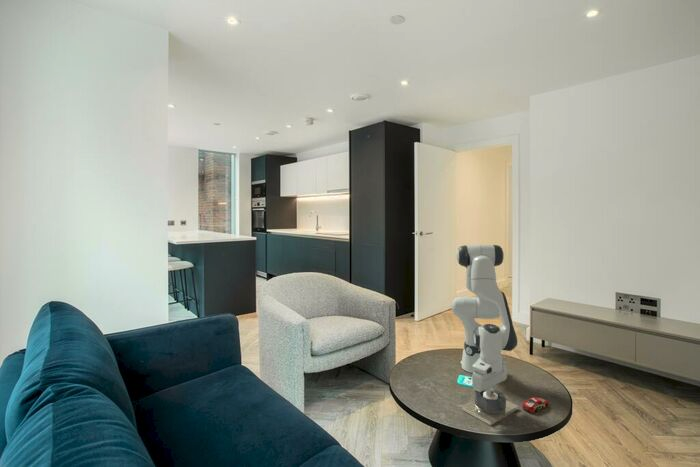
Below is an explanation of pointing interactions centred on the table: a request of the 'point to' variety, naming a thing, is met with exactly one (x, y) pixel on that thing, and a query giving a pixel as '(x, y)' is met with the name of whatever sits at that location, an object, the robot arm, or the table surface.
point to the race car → (535, 404)
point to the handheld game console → (465, 380)
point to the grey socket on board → (489, 407)
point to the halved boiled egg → (492, 397)
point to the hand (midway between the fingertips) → (490, 394)
